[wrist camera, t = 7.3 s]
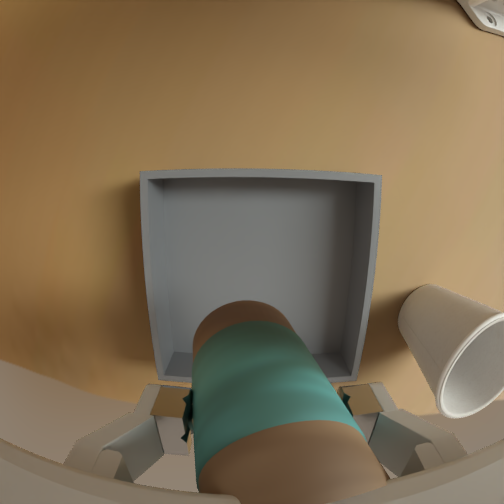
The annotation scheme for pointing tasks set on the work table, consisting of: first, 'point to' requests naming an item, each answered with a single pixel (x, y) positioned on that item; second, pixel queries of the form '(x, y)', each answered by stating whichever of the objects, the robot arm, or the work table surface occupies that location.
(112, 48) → the work table surface
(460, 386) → the dixie cup
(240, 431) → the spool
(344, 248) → the bin
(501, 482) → the robot arm
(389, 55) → the work table surface
